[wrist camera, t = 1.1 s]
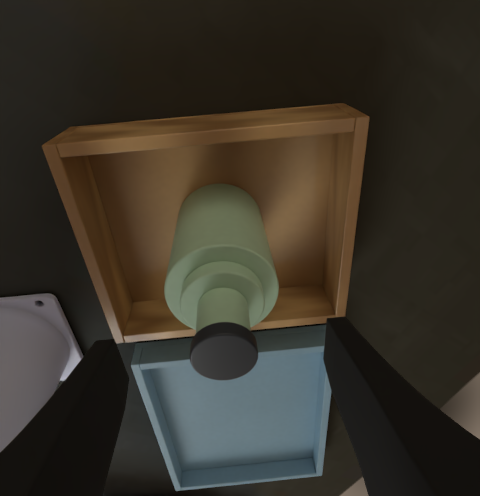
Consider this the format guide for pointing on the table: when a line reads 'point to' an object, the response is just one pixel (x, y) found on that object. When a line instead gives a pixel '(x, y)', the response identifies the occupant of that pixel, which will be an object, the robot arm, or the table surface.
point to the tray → (239, 411)
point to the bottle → (221, 278)
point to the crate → (205, 173)
